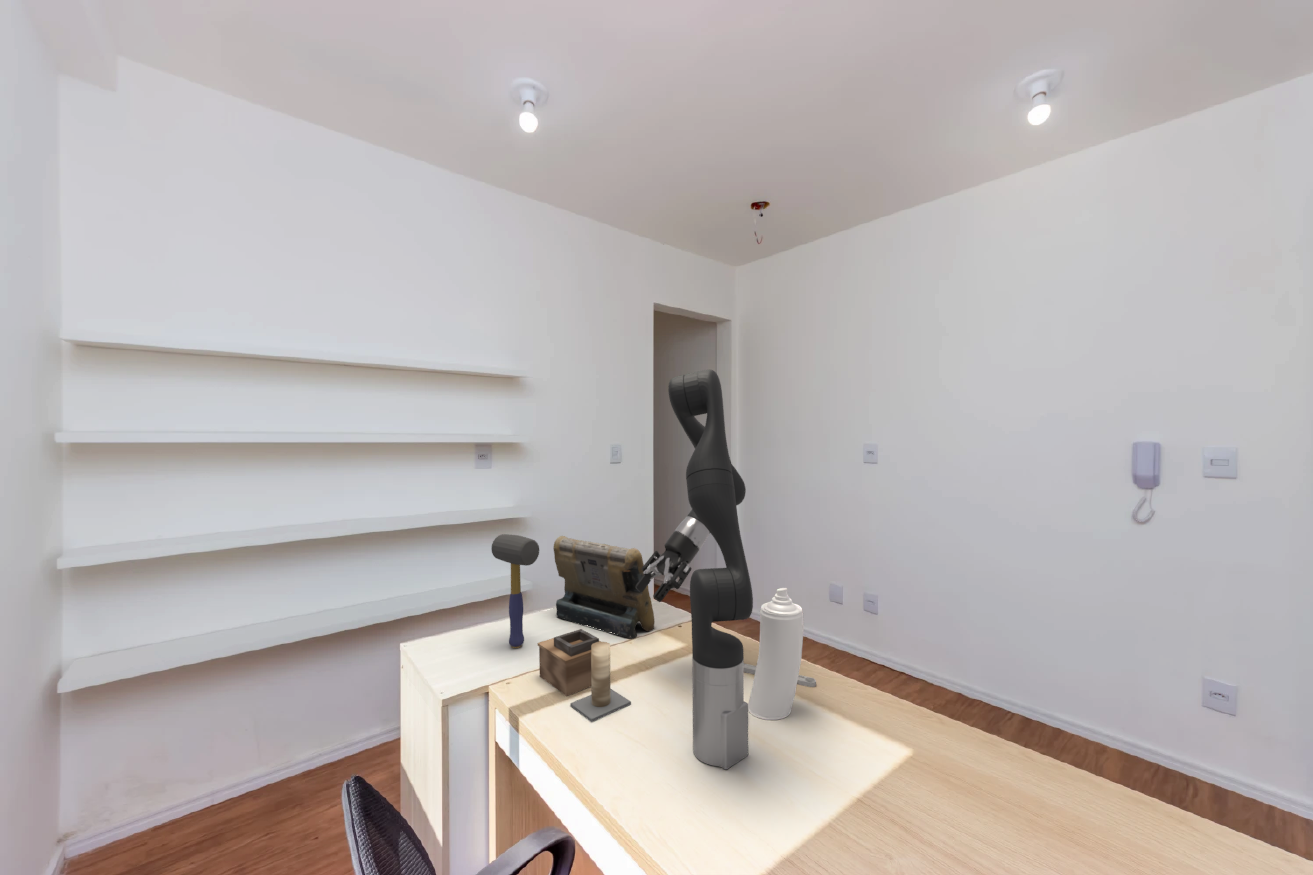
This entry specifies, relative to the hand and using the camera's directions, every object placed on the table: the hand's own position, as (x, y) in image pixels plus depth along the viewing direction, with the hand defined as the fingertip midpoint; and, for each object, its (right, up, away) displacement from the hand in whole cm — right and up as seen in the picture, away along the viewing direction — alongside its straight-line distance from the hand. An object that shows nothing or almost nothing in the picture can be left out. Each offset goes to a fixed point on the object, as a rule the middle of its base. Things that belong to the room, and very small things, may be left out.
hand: (646, 594), depth 122 cm
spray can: (+27, -20, -12) cm, 36 cm away
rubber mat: (-10, -20, -11) cm, 25 cm away
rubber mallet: (-35, -20, +19) cm, 45 cm away
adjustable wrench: (+27, -20, +2) cm, 34 cm away
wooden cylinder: (-10, -20, -11) cm, 24 cm away
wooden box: (-17, -20, +1) cm, 26 cm away
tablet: (-14, -19, +36) cm, 43 cm away
